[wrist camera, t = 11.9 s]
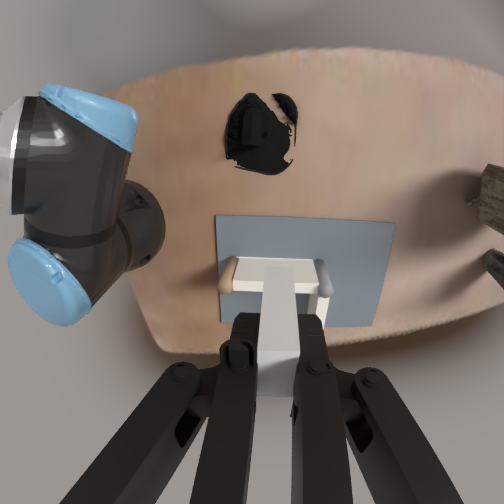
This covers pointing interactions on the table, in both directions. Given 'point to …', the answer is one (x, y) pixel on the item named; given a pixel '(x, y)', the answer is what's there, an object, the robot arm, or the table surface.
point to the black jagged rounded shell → (260, 134)
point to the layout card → (311, 248)
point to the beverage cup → (495, 265)
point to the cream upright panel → (318, 306)
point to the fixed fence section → (252, 269)
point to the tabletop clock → (491, 198)
